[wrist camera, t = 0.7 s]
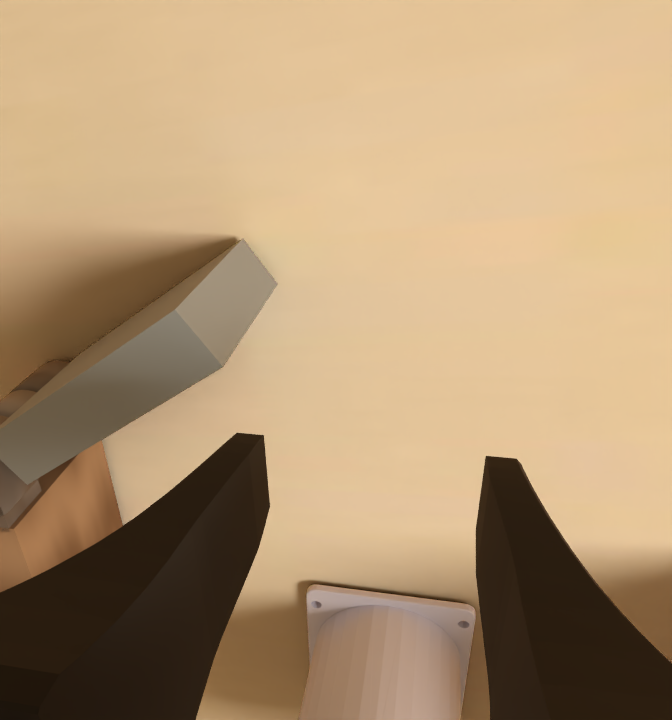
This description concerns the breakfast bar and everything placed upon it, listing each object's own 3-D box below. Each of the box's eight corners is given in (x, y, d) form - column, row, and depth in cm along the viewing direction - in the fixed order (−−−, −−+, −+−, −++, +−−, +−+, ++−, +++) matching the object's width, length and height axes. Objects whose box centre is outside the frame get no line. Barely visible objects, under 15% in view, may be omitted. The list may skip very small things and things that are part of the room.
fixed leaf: (143, 575, 31) (82, 686, 26) (89, 567, 31) (17, 676, 26) (93, 363, 25) (-1, 453, 20) (26, 358, 25) (-82, 445, 20)
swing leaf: (71, 430, 27) (-20, 528, 22) (21, 380, 26) (-86, 470, 21) (286, 295, 22) (234, 380, 17) (233, 226, 21) (162, 294, 16)
